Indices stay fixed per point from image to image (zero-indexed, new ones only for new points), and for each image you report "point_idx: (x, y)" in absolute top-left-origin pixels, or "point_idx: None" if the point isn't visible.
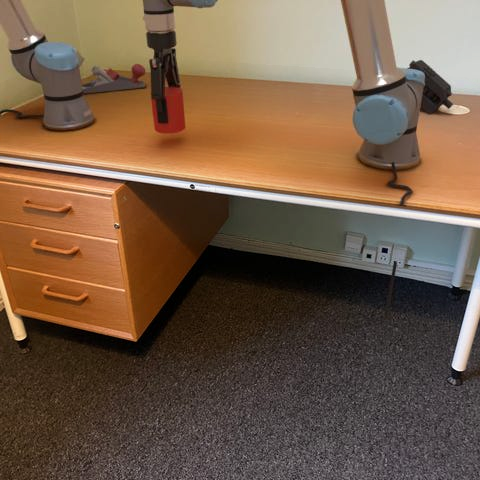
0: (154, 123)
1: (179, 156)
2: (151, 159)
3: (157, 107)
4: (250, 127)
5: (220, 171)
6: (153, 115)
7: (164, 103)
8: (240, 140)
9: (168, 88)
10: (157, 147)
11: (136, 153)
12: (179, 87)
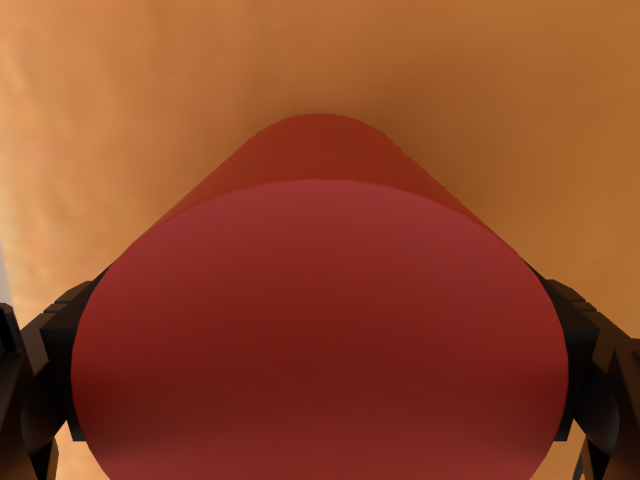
0: (243, 145)
1: None
2: (93, 158)
3: (49, 311)
4: (563, 460)
5: None
6: (232, 155)
7: None
8: None
9: (461, 405)
10: (255, 131)
11: (136, 35)
12: (574, 476)
